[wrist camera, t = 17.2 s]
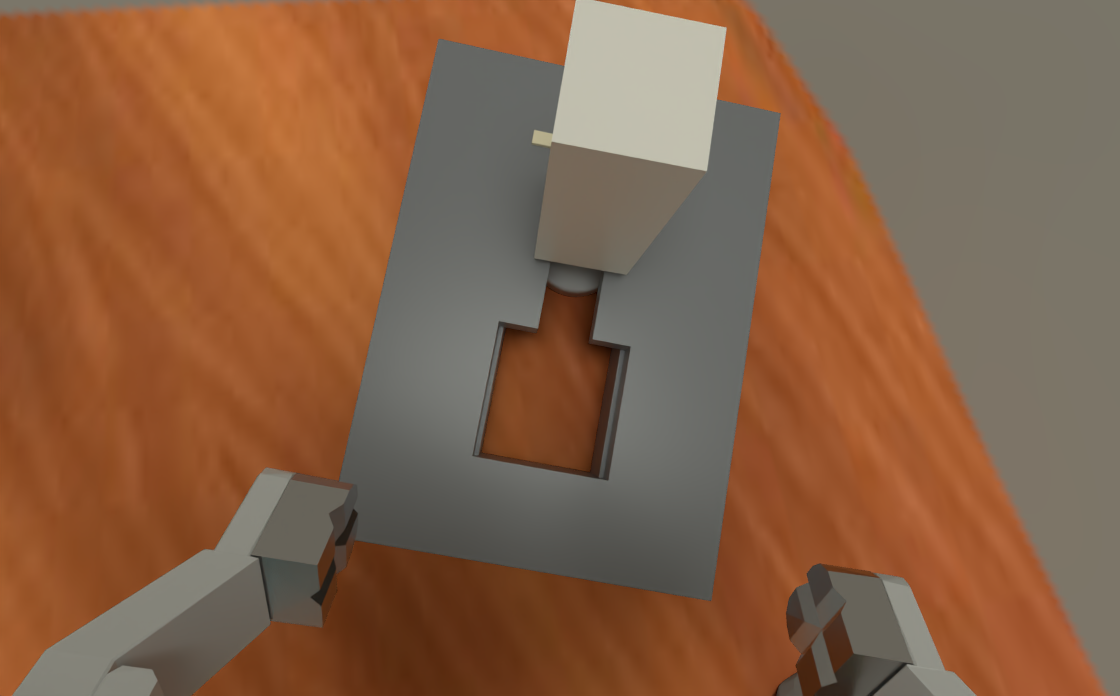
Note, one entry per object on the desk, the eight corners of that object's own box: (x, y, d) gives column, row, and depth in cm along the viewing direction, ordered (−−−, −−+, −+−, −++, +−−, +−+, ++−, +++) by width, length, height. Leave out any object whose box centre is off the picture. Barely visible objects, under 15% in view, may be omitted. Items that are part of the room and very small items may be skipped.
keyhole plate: (682, 576, 31) (712, 602, 26) (353, 519, 30) (325, 536, 25) (745, 153, 34) (782, 111, 29) (448, 90, 33) (438, 35, 28)
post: (610, 303, 32) (713, 180, 16) (525, 288, 32) (542, 147, 16) (623, 221, 33) (734, 22, 17) (539, 206, 32) (570, -12, 16)
